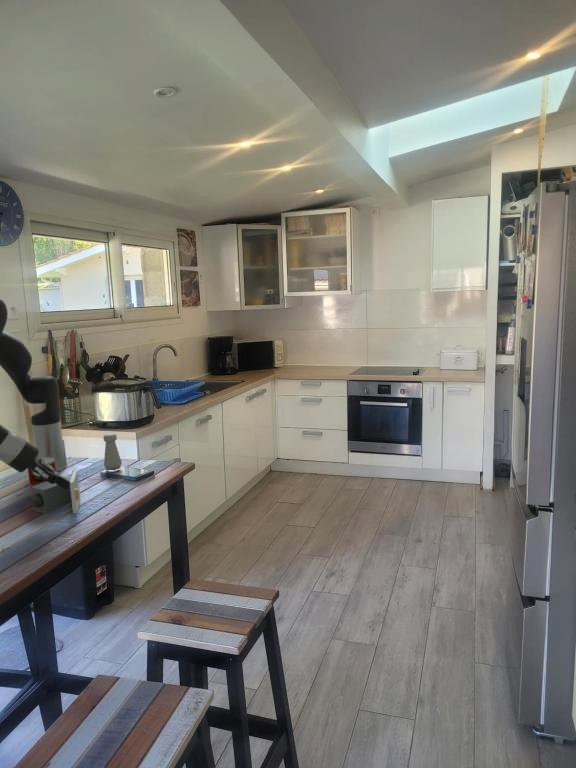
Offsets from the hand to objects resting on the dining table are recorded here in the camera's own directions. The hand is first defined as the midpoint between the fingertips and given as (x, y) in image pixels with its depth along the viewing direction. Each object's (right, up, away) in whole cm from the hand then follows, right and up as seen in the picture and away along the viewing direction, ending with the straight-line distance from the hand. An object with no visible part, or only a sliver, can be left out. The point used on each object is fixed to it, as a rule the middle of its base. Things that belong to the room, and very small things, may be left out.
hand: (68, 486), depth 155 cm
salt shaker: (+1, -2, +38) cm, 38 cm away
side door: (+1, -7, +5) cm, 9 cm away
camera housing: (-7, -7, +8) cm, 12 cm away
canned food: (-14, -6, +17) cm, 23 cm away
